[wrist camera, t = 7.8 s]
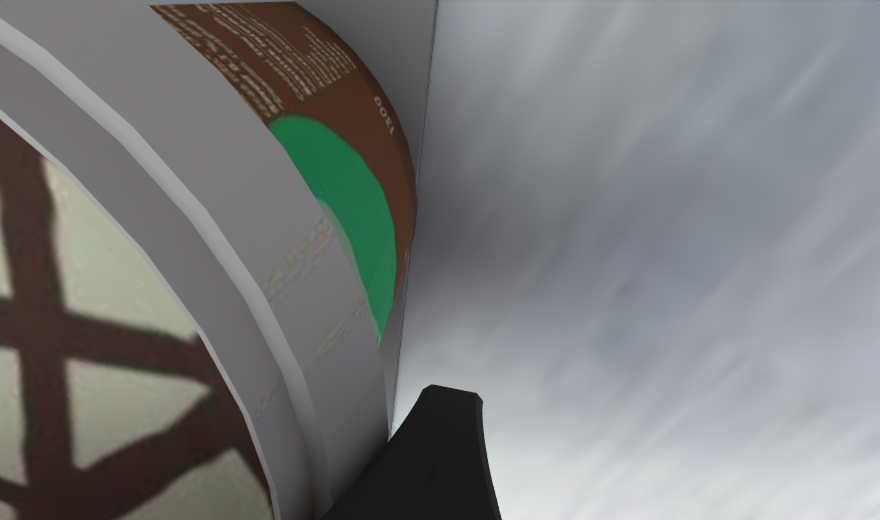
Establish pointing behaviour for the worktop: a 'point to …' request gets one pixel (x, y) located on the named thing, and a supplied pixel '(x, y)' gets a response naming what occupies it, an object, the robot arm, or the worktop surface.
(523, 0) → the worktop surface
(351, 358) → the food container
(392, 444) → the robot arm
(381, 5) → the mat
